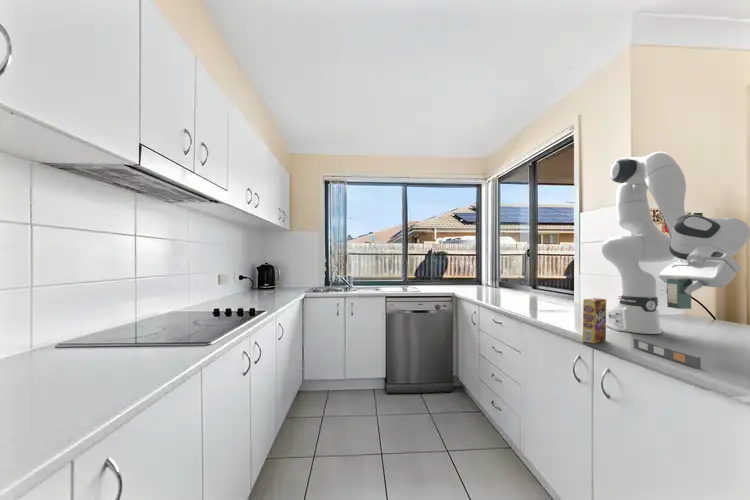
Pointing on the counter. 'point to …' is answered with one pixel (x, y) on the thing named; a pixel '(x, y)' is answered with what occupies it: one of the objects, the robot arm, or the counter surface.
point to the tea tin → (678, 293)
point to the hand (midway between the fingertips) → (677, 292)
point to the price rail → (668, 353)
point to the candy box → (594, 320)
